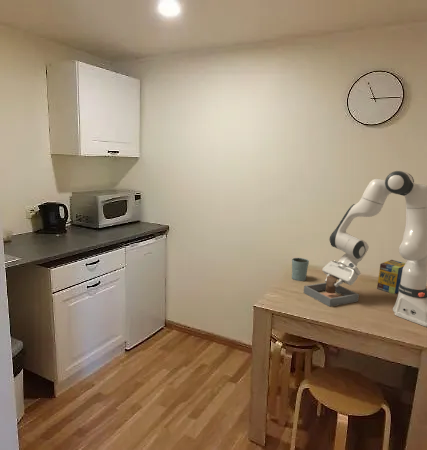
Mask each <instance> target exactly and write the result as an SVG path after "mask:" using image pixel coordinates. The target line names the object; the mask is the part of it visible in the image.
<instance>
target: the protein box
mask: <svg viewBox="0 0 427 450" xmlns="http://www.w3.org/2000/svg"><path fill="white" fill-rule="evenodd" d="M405 264H406V262H403V261H398V260H394V259H389V260H387V261H384V262H382V263H380V264H379V271H378V279H377V285H376V289H377V290H380V291H383V292H387V293H389V294H394V295H396V294H398V293H399V292H398V289H399V283H401V276H402V270H403V267H404V265H405Z"/></svg>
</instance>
